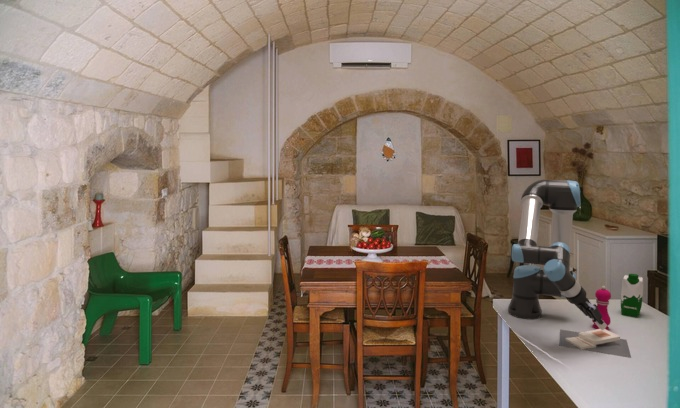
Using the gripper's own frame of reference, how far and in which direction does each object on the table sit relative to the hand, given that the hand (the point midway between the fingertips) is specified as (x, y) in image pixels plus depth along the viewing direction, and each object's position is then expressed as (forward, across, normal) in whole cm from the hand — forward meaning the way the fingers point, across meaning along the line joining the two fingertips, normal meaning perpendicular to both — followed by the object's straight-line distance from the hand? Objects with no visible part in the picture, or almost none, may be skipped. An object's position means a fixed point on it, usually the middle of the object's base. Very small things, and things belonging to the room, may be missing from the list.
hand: (603, 327), depth 198 cm
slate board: (+1, 0, -8) cm, 9 cm away
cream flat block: (-2, 0, -9) cm, 9 cm away
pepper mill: (+12, -12, +2) cm, 17 cm away
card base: (-4, 0, -12) cm, 12 cm away
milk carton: (+33, -25, +23) cm, 48 cm away
